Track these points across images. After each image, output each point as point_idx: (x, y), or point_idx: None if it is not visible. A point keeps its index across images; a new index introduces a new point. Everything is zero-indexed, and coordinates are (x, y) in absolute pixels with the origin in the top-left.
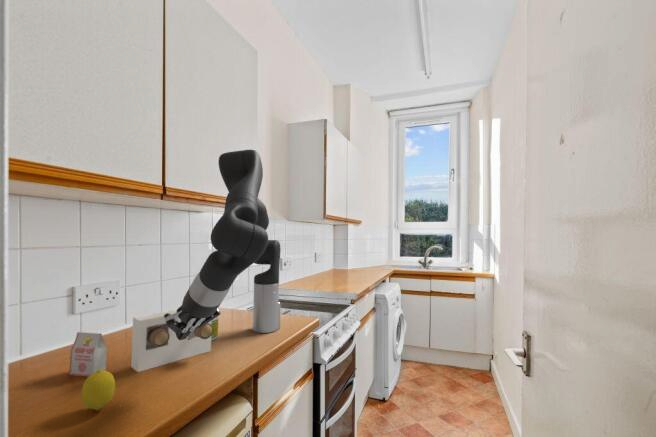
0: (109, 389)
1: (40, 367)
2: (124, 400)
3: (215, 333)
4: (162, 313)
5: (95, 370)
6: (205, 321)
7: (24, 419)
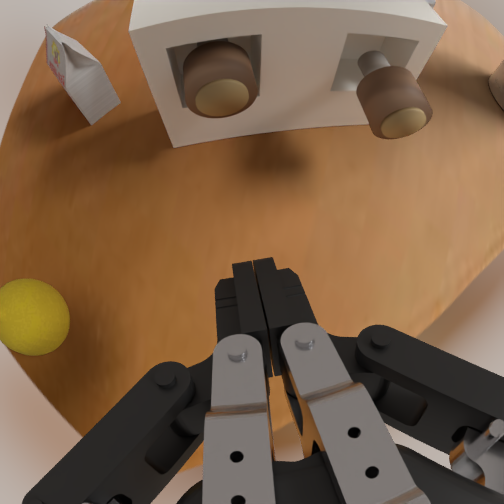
0: (43, 351)
1: None
2: (108, 310)
3: None
4: None
5: (91, 114)
6: (404, 432)
7: None
